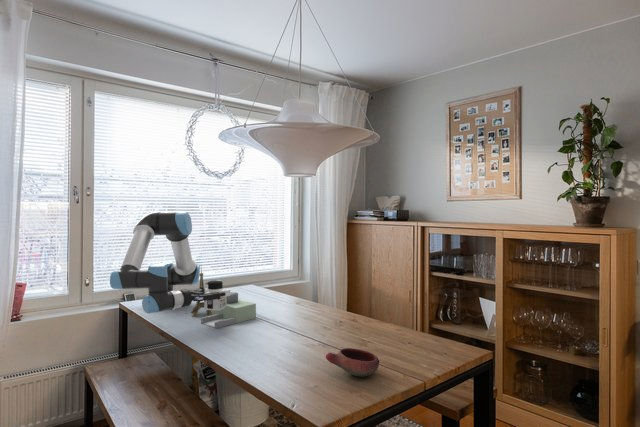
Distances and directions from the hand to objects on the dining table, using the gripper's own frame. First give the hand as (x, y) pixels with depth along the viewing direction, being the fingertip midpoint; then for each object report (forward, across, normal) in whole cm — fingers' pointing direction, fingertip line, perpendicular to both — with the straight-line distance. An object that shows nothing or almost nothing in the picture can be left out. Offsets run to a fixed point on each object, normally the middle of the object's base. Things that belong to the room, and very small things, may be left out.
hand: (223, 290), depth 196 cm
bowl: (-8, +85, -16) cm, 87 cm away
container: (-4, 0, -8) cm, 9 cm away
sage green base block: (+4, -4, -15) cm, 16 cm away
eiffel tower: (+2, -22, -15) cm, 27 cm away
